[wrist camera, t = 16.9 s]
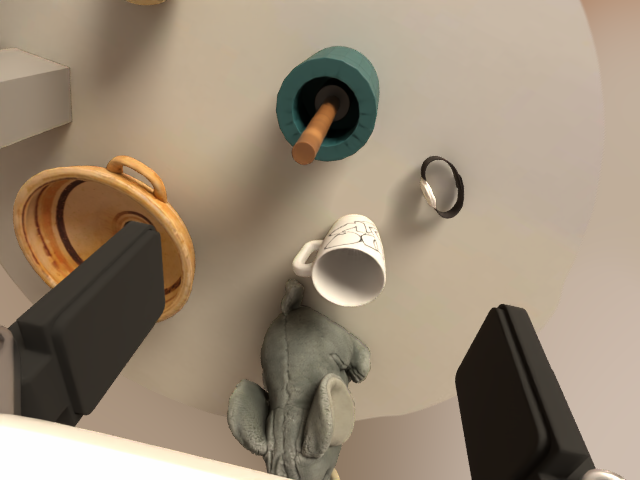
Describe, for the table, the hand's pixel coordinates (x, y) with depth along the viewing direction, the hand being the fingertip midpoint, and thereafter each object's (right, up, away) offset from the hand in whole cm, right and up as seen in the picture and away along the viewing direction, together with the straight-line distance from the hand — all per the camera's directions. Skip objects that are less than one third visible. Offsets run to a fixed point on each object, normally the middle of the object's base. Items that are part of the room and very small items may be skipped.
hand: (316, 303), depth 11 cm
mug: (+3, +3, +42) cm, 42 cm away
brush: (+2, +18, +32) cm, 37 cm away
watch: (+15, +9, +36) cm, 40 cm away
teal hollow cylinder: (+2, +18, +32) cm, 37 cm away
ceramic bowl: (-27, +4, +47) cm, 54 cm away
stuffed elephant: (-1, -15, +53) cm, 55 cm away
